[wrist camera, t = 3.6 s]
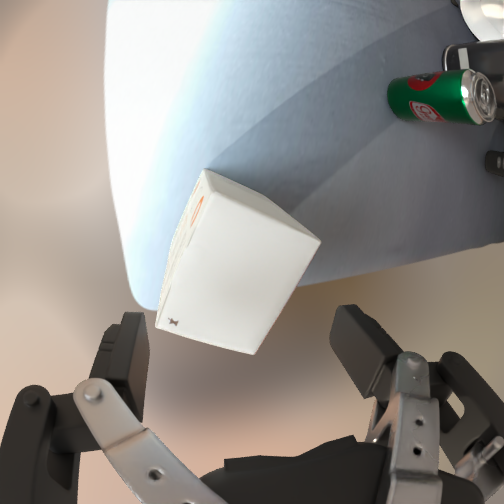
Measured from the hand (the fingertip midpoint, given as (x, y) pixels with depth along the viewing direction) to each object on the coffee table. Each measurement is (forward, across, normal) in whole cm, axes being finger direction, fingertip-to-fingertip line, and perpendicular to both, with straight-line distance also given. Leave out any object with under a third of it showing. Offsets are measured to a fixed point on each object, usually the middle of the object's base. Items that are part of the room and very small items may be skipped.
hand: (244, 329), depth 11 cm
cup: (+10, -43, -43) cm, 61 cm away
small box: (+17, 0, 0) cm, 17 cm away
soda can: (+16, -19, -15) cm, 29 cm away
